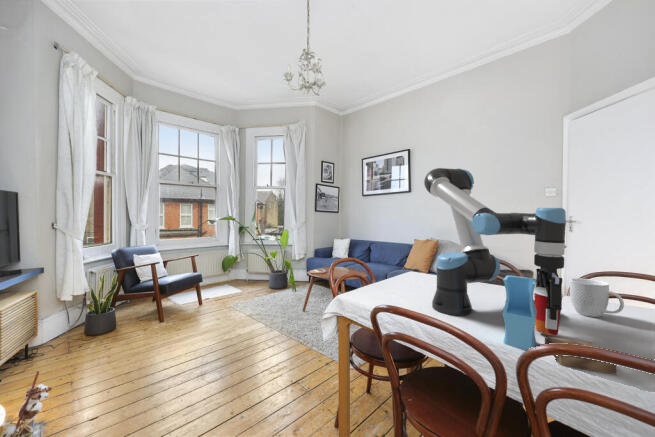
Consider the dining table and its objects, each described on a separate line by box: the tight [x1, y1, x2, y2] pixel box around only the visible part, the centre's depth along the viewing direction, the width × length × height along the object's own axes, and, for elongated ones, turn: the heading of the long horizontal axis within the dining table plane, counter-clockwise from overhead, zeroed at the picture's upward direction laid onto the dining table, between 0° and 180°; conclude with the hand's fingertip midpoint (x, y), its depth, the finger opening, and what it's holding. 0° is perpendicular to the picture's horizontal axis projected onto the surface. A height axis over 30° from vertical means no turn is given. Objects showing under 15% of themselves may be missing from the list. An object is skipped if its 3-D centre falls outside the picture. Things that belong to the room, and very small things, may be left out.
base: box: [544, 336, 617, 375], centre depth 72 cm, size 11×11×3 cm
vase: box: [502, 274, 537, 351], centre depth 81 cm, size 8×8×20 cm
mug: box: [569, 277, 625, 318], centre depth 102 cm, size 15×11×13 cm
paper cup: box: [533, 286, 565, 336], centre depth 86 cm, size 8×8×14 cm
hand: (546, 323), depth 86 cm, fingers closed on paper cup, 6 cm apart
